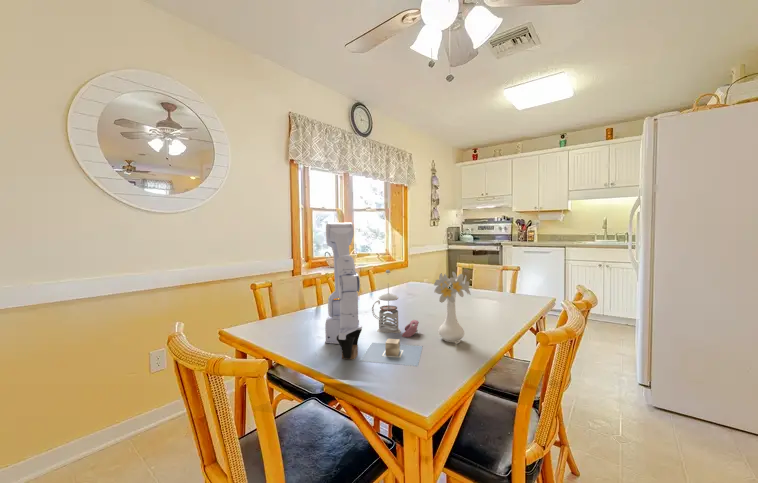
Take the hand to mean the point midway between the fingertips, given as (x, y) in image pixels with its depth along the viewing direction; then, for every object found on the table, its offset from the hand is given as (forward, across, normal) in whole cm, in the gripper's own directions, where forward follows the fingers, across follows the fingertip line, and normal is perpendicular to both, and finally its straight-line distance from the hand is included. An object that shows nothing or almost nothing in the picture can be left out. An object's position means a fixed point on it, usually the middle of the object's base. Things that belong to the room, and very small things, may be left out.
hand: (350, 354), depth 100 cm
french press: (+2, +29, -6) cm, 30 cm away
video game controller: (+2, +26, -16) cm, 31 cm away
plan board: (+1, +5, -13) cm, 14 cm away
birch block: (+1, +5, -13) cm, 14 cm away
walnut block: (+2, 0, 0) cm, 2 cm away
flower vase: (+2, +21, -32) cm, 38 cm away
